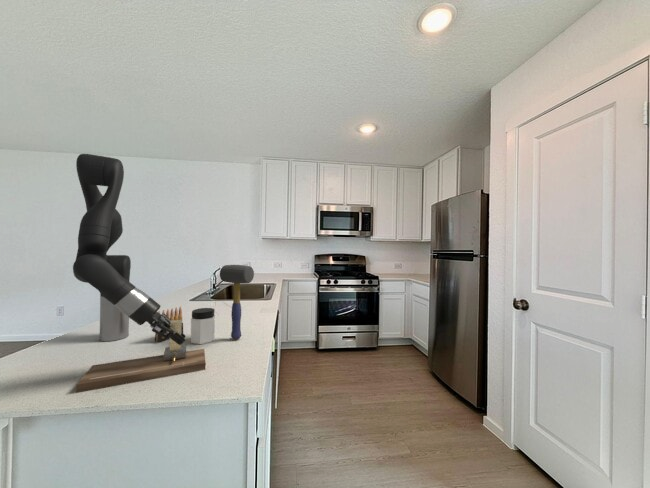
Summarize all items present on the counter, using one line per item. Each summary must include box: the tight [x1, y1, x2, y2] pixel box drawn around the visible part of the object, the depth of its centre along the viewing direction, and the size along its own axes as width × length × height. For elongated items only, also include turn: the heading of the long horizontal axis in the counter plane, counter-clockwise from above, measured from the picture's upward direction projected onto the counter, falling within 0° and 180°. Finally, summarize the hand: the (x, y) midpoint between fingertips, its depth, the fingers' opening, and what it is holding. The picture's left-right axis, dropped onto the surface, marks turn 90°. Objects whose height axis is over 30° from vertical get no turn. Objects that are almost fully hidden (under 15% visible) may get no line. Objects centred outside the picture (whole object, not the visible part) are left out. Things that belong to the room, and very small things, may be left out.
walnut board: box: [75, 348, 207, 393], centre depth 79 cm, size 12×30×2 cm, turn 116°
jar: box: [190, 307, 216, 345], centre depth 105 cm, size 9×8×12 cm
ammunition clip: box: [154, 306, 184, 344], centre depth 107 cm, size 11×2×12 cm, turn 153°
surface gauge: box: [163, 319, 187, 361], centre depth 83 cm, size 10×6×11 cm, turn 26°
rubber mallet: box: [219, 264, 255, 341], centre depth 106 cm, size 12×8×30 cm, turn 70°
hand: (182, 340), depth 86 cm, fingers closed on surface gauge, 3 cm apart
